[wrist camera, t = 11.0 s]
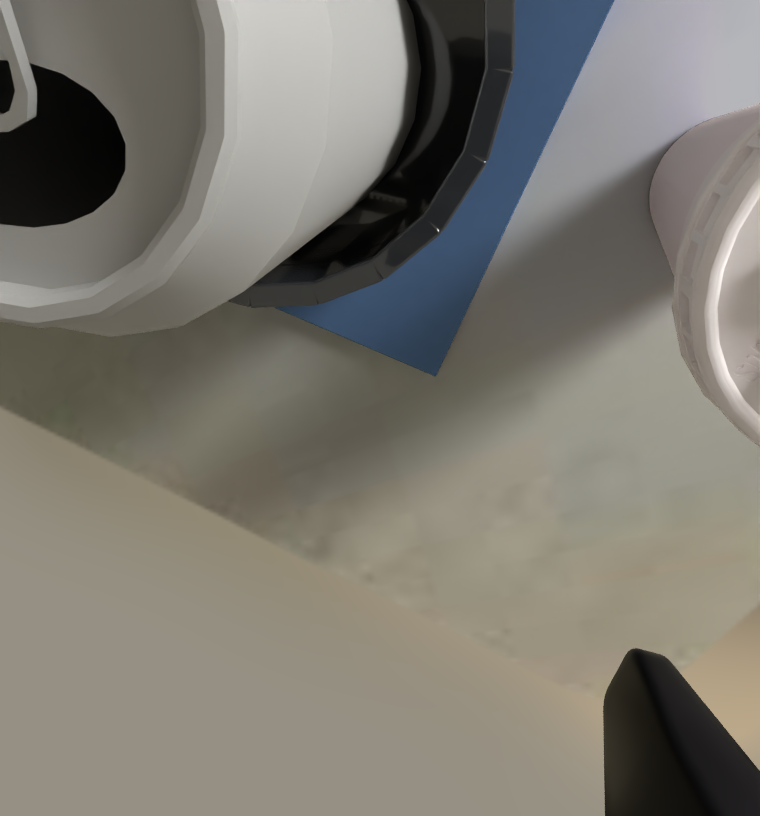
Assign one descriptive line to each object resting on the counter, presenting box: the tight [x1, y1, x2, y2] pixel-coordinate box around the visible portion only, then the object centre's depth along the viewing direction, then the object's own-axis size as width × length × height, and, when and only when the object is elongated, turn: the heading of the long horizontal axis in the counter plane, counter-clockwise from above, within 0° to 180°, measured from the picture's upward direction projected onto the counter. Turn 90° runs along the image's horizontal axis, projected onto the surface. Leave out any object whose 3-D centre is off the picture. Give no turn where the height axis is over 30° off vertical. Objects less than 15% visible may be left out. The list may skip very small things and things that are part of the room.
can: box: [0, 0, 421, 337], centre depth 12 cm, size 8×8×12 cm
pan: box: [228, 0, 515, 308], centre depth 15 cm, size 11×11×4 cm
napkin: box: [274, 0, 614, 376], centre depth 17 cm, size 14×14×1 cm
